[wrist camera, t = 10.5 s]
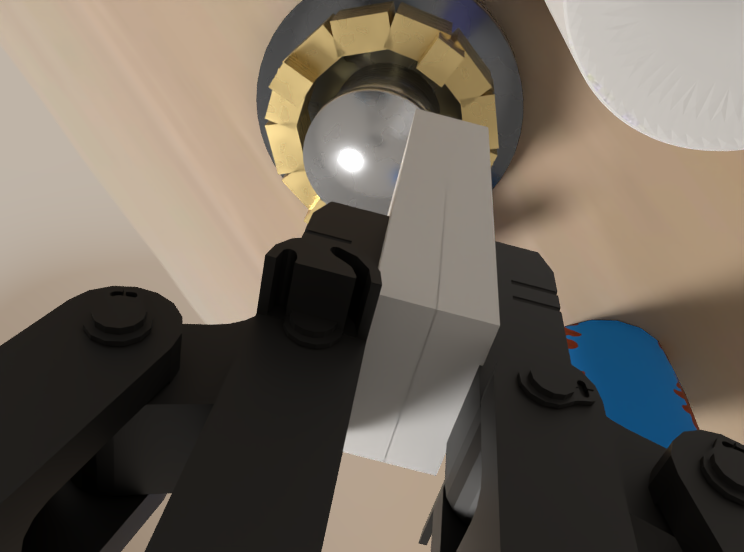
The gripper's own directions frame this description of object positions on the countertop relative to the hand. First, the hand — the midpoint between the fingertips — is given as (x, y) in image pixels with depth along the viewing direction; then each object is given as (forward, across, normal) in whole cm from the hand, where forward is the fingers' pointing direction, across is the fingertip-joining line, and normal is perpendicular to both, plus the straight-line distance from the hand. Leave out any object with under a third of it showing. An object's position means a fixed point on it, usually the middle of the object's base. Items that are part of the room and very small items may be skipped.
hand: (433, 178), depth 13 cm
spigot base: (+26, -2, -8) cm, 28 cm away
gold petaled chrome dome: (+25, -1, -11) cm, 27 cm away
